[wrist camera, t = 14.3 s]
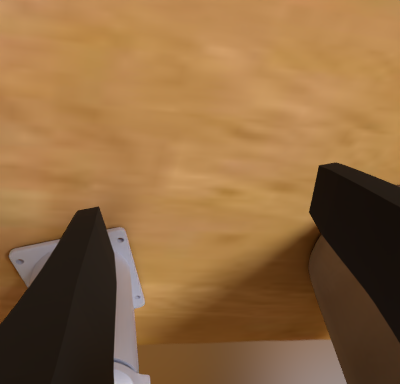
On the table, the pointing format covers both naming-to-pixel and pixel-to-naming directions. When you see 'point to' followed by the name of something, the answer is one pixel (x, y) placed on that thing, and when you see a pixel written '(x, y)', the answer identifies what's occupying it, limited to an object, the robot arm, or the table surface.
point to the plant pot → (353, 321)
